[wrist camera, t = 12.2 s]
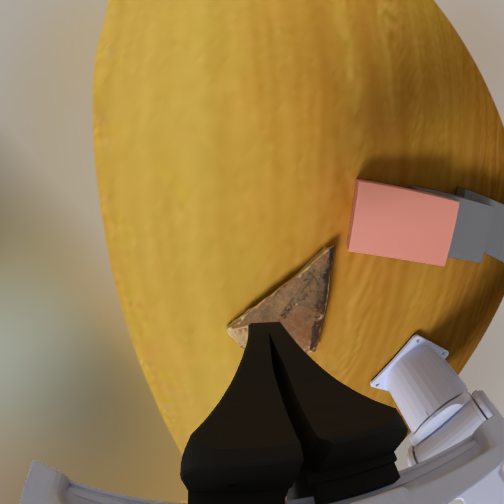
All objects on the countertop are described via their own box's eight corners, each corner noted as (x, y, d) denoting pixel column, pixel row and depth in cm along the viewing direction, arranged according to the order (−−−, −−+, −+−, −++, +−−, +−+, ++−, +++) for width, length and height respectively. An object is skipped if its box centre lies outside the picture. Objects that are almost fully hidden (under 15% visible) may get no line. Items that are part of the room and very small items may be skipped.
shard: (327, 238, 21) (335, 247, 19) (369, 299, 23) (378, 309, 22) (222, 320, 23) (222, 333, 21) (276, 365, 25) (279, 378, 24)
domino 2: (457, 186, 20) (512, 209, 18) (445, 237, 21) (500, 255, 20) (465, 188, 18) (521, 213, 16) (452, 243, 20) (508, 261, 18)
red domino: (356, 178, 19) (450, 198, 17) (346, 243, 21) (436, 257, 19) (359, 180, 17) (459, 202, 15) (348, 251, 19) (444, 266, 17)
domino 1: (410, 185, 19) (484, 202, 18) (400, 243, 21) (472, 255, 19) (416, 188, 18) (494, 207, 16) (405, 250, 19) (480, 262, 18)
